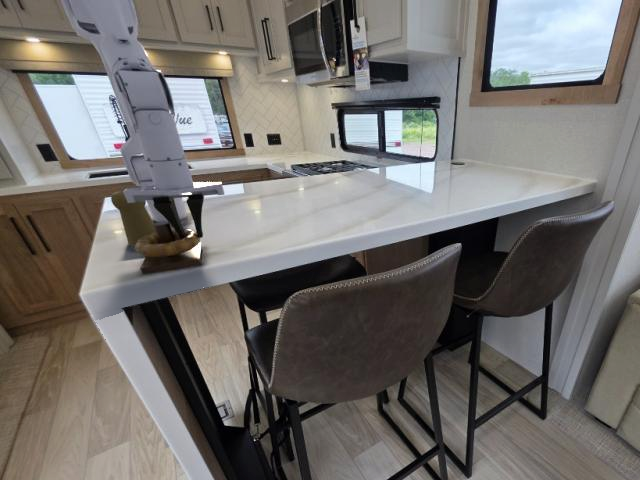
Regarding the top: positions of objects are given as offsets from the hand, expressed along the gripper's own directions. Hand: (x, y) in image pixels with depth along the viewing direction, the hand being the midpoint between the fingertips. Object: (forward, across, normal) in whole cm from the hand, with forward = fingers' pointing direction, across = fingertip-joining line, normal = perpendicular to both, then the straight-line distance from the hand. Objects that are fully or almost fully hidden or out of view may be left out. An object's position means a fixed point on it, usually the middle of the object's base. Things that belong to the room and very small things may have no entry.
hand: (192, 237), depth 61 cm
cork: (+4, -10, +11) cm, 15 cm away
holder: (+4, -4, 0) cm, 6 cm away
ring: (0, -4, 0) cm, 4 cm away
